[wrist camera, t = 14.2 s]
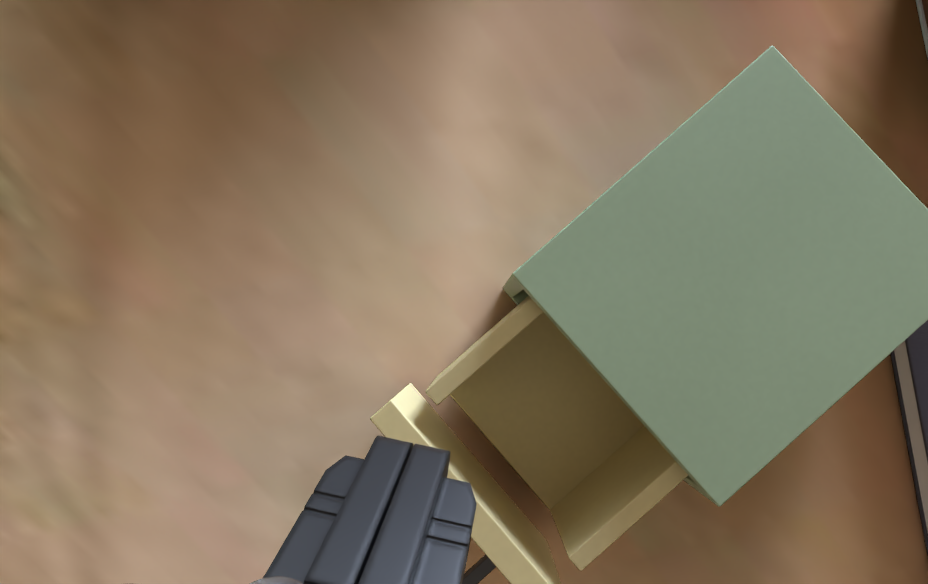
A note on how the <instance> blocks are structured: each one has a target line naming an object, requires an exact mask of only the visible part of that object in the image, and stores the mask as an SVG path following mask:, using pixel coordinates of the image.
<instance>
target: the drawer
mask: <svg viewBox="0 0 928 584" xmlns="http://www.w3.org/2000/svg"><path fill="white" fill-rule="evenodd" d="M425 392H426V393H427V395H428V396H429V397H430V398H431V399H432V400H433V402H434V403H435V404H436V405H438V404H440V403H441V402H442V401H443V400H444V399H445V398H446V397H448V396H449V395H450V396H451V397H452V398H453V399H454V400H455V402H456V403H457V404H458V405H459V406H460V407H461V408H462V410H463V411H464V412H465V413H466V414H467V415H468V416H469V418H470V419H471V420H472V421H473V422H474V423H475V425H476V426H477V427H478V428H479V429H480V430H481V431H482V433H483V434H484V435H485V436H486V437H487V438H488V440H489V441H490V442H491V443H492V444H493V445H494V446H495V448H496V449H497V450H498V451H499V452H500V453H501V455H502V456H503V457H504V458H505V459H506V460H507V461H508V463H509V464H510V465H511V466H512V467H513V468H514V470H515V471H516V472H517V473H518V474H519V475H520V476H521V478H522V479H523V480H524V481H525V482H526V483H527V485H528V486H529V487H530V488H531V489H532V490H533V491H534V493H535V494H536V495H537V496H538V497H539V498H540V499H541V501H542V502H543V503H544V504H545V505H546V506H547V508H548V509H549V510H550V512H551V514H552V517H553V519H554V522H555V524H556V527H557V529H558V532H559V534H560V537H561V539H562V542H563V544H564V547H565V549H566V552H567V555H568V557H569V559H570V560H571V561H572V562H573V563H574V565H575V566H576V567H577V568H578V569H579V570H580V571H582V570H583V569H584V568H585V567H586V566H588V565H589V564H590V563H591V562H592V561H593V560H594V559H595V558H597V557H598V556H599V555H600V554H601V553H602V552H603V551H604V550H605V549H607V548H608V547H609V546H610V545H611V544H612V543H613V542H614V541H615V540H617V539H618V538H619V537H620V536H621V535H622V534H623V533H624V532H626V531H627V530H628V529H629V528H630V527H631V526H632V525H633V524H634V523H636V522H637V521H638V520H639V519H640V518H641V517H642V516H643V515H644V514H646V513H647V512H648V511H649V510H650V509H651V508H652V507H653V506H655V505H656V504H657V503H658V502H659V501H660V500H661V499H662V498H663V497H665V496H666V495H667V494H668V493H669V492H670V491H671V490H672V489H674V488H675V487H676V486H677V485H678V484H679V483H680V482H681V481H682V480H684V479H685V478H686V477H687V476H688V474H687V473H686V472H685V471H684V470H683V469H682V467H681V466H680V465H679V464H678V463H677V462H676V461H675V460H674V458H673V457H672V456H671V455H670V454H669V453H668V452H667V451H666V449H665V448H664V447H663V446H662V445H661V444H660V443H659V442H658V440H657V439H656V438H655V437H654V436H653V435H652V434H651V433H650V431H649V430H648V429H647V428H646V427H645V426H644V425H643V424H642V422H641V421H640V420H639V419H638V418H637V417H636V416H635V415H634V413H633V412H632V411H631V410H630V409H629V408H628V407H627V406H626V404H625V403H624V402H623V401H622V400H621V399H620V398H619V397H618V395H617V394H616V393H615V392H614V391H613V390H612V389H611V387H610V386H609V385H608V384H607V383H606V382H605V381H604V380H603V378H602V377H601V376H600V375H599V374H598V373H597V372H596V371H595V369H594V368H593V367H592V366H591V365H590V364H589V363H588V362H587V360H586V359H585V358H584V357H583V356H582V355H581V354H580V353H579V351H578V350H577V349H576V348H575V347H574V346H573V345H572V344H571V342H570V341H569V340H568V339H567V338H566V337H565V336H564V335H563V333H562V332H561V331H560V330H559V329H558V328H557V327H556V326H555V324H554V323H553V322H552V321H551V320H550V319H549V318H548V317H547V315H546V314H545V313H544V312H543V311H542V310H541V309H540V308H539V306H538V305H537V304H536V303H535V302H534V301H533V300H532V299H531V297H530V296H528V297H526V298H525V299H524V300H523V301H522V302H521V303H520V304H519V305H517V306H516V307H515V308H514V309H513V310H512V311H511V312H509V313H508V314H507V315H506V316H505V317H504V318H503V319H502V320H500V321H499V322H498V323H497V324H496V325H495V326H494V327H492V328H491V329H490V330H489V331H488V332H487V333H486V334H484V335H483V336H482V337H481V338H480V339H479V340H478V341H477V342H475V343H474V344H473V345H472V346H471V347H470V348H469V349H467V350H466V351H465V352H464V353H463V354H462V355H461V356H460V357H458V358H457V359H456V360H455V361H454V362H453V363H452V364H450V365H449V366H448V367H447V368H446V369H445V370H444V371H442V372H441V373H440V374H439V375H438V376H437V377H436V378H435V380H434V381H433V382H432V383H431V385H430V386H429V387H428V389H427V390H426V391H425ZM370 420H371V421H372V422H373V423H374V424H375V425H376V427H377V428H378V429H379V430H380V431H381V432H382V434H383V435H384V436H385V437H387V438H392V439H396V440H401V441H406V442H410V443H413V446H414V444H420V445H425V446H429V447H434V448H439V449H443V450H448V451H450V462H449V468H448V475H447V478H450V479H455V480H459V481H464V482H468V483H470V484H471V487H472V490H473V494H474V497H475V500H476V503H477V505H476V511H475V517H474V522H473V528H472V534H471V538H472V539H473V540H474V541H475V542H476V544H477V545H478V546H479V547H480V548H481V549H482V551H483V552H484V553H485V554H486V555H485V556H483V557H482V558H481V559H480V560H479V561H478V562H477V563H476V564H474V565H473V566H472V567H471V568H470V569H469V570H468V571H467V572H466V573H464V576H463V581H462V584H478V583H479V582H480V581H481V580H482V579H483V578H484V577H485V576H487V575H488V574H489V573H490V572H491V571H492V570H493V569H494V568H495V567H497V568H498V569H499V570H500V572H501V573H502V574H503V575H504V576H505V577H506V579H507V580H508V581H509V582H510V583H511V584H561V582H560V579H559V576H558V573H557V570H556V567H555V564H554V560H553V557H552V554H551V551H550V548H549V545H548V542H547V540H546V539H545V538H544V536H543V535H542V534H541V533H540V532H539V531H538V530H537V528H536V527H535V526H534V525H533V524H532V523H531V521H530V520H529V519H528V518H527V517H526V516H525V515H524V513H523V512H522V511H521V510H520V509H519V508H518V506H517V505H516V504H515V503H514V502H513V501H512V499H511V498H510V497H509V496H508V495H507V494H506V493H505V491H504V490H503V489H502V488H501V487H500V486H499V484H498V483H497V482H496V481H495V480H494V479H493V477H492V476H491V475H490V474H489V473H488V472H487V471H486V469H485V468H484V467H483V466H482V465H481V464H480V462H479V461H478V460H477V459H476V458H475V457H474V455H473V454H472V453H471V452H470V451H469V450H468V449H467V447H466V446H465V445H464V444H463V443H462V442H461V440H460V439H459V438H458V437H457V436H456V435H455V433H454V432H453V431H452V430H451V429H450V428H449V427H448V425H447V424H446V423H445V422H444V421H443V420H442V418H441V417H440V416H439V415H438V414H437V413H436V411H435V410H434V409H433V408H432V407H431V406H430V405H429V403H428V402H427V401H426V400H425V399H424V398H423V396H422V395H421V394H420V393H419V392H418V391H417V390H416V388H415V387H414V386H413V385H412V384H411V383H410V384H408V385H407V386H406V387H405V388H404V389H403V390H402V391H400V392H399V393H398V394H397V395H396V396H395V397H394V398H392V399H391V400H390V401H389V402H388V403H387V404H386V405H384V406H383V407H382V408H381V409H380V410H379V411H378V412H376V413H375V414H374V415H373V416H372V417H371V418H370Z"/></svg>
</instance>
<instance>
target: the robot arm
mask: <svg viewBox="0 0 928 584" xmlns="http://www.w3.org/2000/svg"><path fill="white" fill-rule="evenodd" d="M449 462H450V451H448V450H443V449H439V448H434V447H429V446H425V445H420V444H414V446H413V443H410V442H406V441H401V440H396V439H392V438H387V437H383V436H377V437H376V438H375V440H374V442H373V444H372V446H371V448H370V450H369V452H368V454H367V456H366V458H365V460H364V459H359V458H355V457H350V456H344V457H343V458H342V459H340V460H339V461H338V462H336V463H335V464H334V465H332V466H331V467H330V468H328V469H327V470H326V471H325V473H324V474H323V476H322V478H321V479H320V481H319V483H318V485H317V486H316V488H315V490H314V493H313V494H312V495H311V497H310V498H309V500H308V502H307V504H306V505H305V508H304V511H302V512H301V514H300V516H299V517H298V519H297V521H296V523H295V524H294V526H293V528H292V529H291V531H290V533H289V535H288V536H287V538H286V540H285V541H284V543H283V545H282V547H281V548H280V550H279V552H278V554H277V555H276V557H275V559H274V560H273V562H272V564H271V566H270V567H269V569H268V571H267V572H266V574H265V575H264V577H263V578H262V579H260V580H257V581H254V582H252V583H250V584H462V581H463V576H464V571H465V566H466V562H467V556H468V550H469V545H470V539H471V534H472V528H473V522H474V517H475V511H476V505H477V503H476V500H475V497H474V494H473V490H472V487H471V484H470V483H468V482H464V481H459V480H455V479H450V478H447V475H448V468H449Z"/></svg>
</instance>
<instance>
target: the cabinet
mask: <svg viewBox="0 0 928 584" xmlns="http://www.w3.org/2000/svg"><path fill="white" fill-rule="evenodd" d="M503 290H504V291H505V292H506V293H507V294H508V295H509V296H510V298H511V299H512V300H513V301H514V302H515V303H516V304H517V305H519V304H520V303H521V302H522V301H523V300H524V299H525V298H526V297H528V296H530V297H531V299H532V300H533V301H534V302H535V303H536V304H537V305H538V306H539V308H540V309H541V310H542V311H543V312H544V313H545V314H546V315H547V317H548V318H549V319H550V320H551V321H552V322H553V323H554V324H555V326H556V327H557V328H558V329H559V330H560V331H561V332H562V333H563V335H564V336H565V337H566V338H567V339H568V340H569V341H570V342H571V344H572V345H573V346H574V347H575V348H576V349H577V350H578V351H579V353H580V354H581V355H582V356H583V357H584V358H585V359H586V360H587V362H588V363H589V364H590V365H591V366H592V367H593V368H594V369H595V371H596V372H597V373H598V374H599V375H600V376H601V377H602V378H603V380H604V381H605V382H606V383H607V384H608V385H609V386H610V387H611V389H612V390H613V391H614V392H615V393H616V394H617V395H618V397H619V398H620V399H621V400H622V401H623V402H624V403H625V404H626V406H627V407H628V408H629V409H630V410H631V411H632V412H633V413H634V415H635V416H636V417H637V418H638V419H639V420H640V421H641V422H642V424H643V425H644V426H645V427H646V428H647V429H648V430H649V431H650V433H651V434H652V435H653V436H654V437H655V438H656V439H657V440H658V442H659V443H660V444H661V445H662V446H663V447H664V448H665V449H666V451H667V452H668V453H669V454H670V455H671V456H672V457H673V458H674V460H675V461H676V462H677V463H678V464H679V465H680V466H681V467H682V469H683V470H684V471H685V472H686V473H687V474H688V476H687V477H686V478H685V479H684V481H685V482H687V483H688V484H689V485H691V486H692V487H693V488H695V489H696V490H697V491H699V492H700V493H701V494H703V495H704V496H705V497H707V498H708V499H709V500H711V501H712V502H713V503H714V504H716V505H717V506H719V507H720V506H721V505H722V504H723V503H725V502H726V501H727V500H728V499H729V498H730V497H731V496H732V495H733V494H735V493H736V492H737V491H738V490H739V489H740V488H741V487H742V486H743V485H745V484H746V483H747V482H748V481H749V480H750V479H751V478H752V477H754V476H755V475H756V474H757V473H758V472H759V471H760V470H761V469H762V468H764V467H765V466H766V465H767V464H768V463H769V462H770V461H771V460H772V459H774V458H775V457H776V456H777V455H778V454H779V453H780V452H781V451H782V450H784V449H785V448H786V447H787V446H788V445H789V444H790V443H791V442H792V441H794V440H795V439H796V438H797V437H798V436H799V435H800V434H801V433H802V432H804V431H805V430H806V429H807V428H808V427H809V426H810V425H811V424H812V423H814V422H815V421H816V420H817V419H818V418H819V417H820V416H821V415H822V414H824V413H825V412H826V411H827V410H828V409H829V408H830V407H831V406H832V405H834V404H835V403H836V402H837V401H838V400H839V399H840V398H841V397H843V396H844V395H845V394H846V393H847V392H848V391H849V390H850V389H851V388H853V387H854V386H855V385H856V384H857V383H858V382H859V381H860V380H861V379H863V378H864V377H865V376H866V375H867V374H868V373H869V372H870V371H871V370H873V369H874V368H875V367H876V366H877V365H878V364H879V363H880V362H881V361H883V360H884V359H885V358H886V357H887V356H888V355H889V354H890V353H891V352H893V351H894V350H895V349H896V348H897V347H898V346H899V345H900V344H901V343H903V342H904V341H905V340H906V339H907V338H908V337H909V336H910V335H911V334H913V333H914V332H915V331H916V330H917V329H918V328H919V327H920V326H921V325H923V324H924V323H925V322H926V321H927V320H928V209H927V208H926V207H925V206H924V205H923V204H922V203H921V202H920V201H919V199H918V198H917V197H916V196H915V195H914V194H913V193H912V192H911V191H910V190H909V189H908V188H907V187H906V186H905V185H904V184H903V183H902V181H901V180H900V179H899V178H898V177H897V176H896V175H895V174H894V173H893V172H892V171H891V170H890V169H889V168H888V167H887V166H886V165H885V164H884V162H883V161H882V160H881V159H880V158H879V157H878V156H877V155H876V154H875V153H874V152H873V151H872V150H871V149H870V148H869V147H868V146H867V145H866V143H865V142H864V141H863V140H862V139H861V138H860V137H859V136H858V135H857V134H856V133H855V132H854V131H853V130H852V129H851V128H850V127H849V126H848V124H847V123H846V122H845V121H844V120H843V119H842V118H841V117H840V116H839V115H838V114H837V113H836V112H835V111H834V110H833V109H832V108H831V106H830V105H829V104H828V103H827V102H826V101H825V100H824V99H823V98H822V97H821V96H820V95H819V94H818V93H817V92H816V91H815V90H814V89H813V87H812V86H811V85H810V84H809V83H808V82H807V81H806V80H805V79H804V78H803V77H802V76H801V75H800V74H799V73H798V72H797V71H796V70H795V68H794V67H793V66H792V65H791V64H790V63H789V62H788V61H787V60H786V59H785V58H784V57H783V56H782V55H781V54H780V53H779V52H778V50H777V49H776V48H775V47H774V46H771V47H770V48H768V49H767V50H766V51H765V52H764V53H763V54H762V55H760V56H759V57H758V58H757V59H756V60H755V61H754V62H752V63H751V64H750V65H749V66H748V67H747V68H746V69H744V70H743V71H742V72H741V73H740V74H739V75H738V76H737V77H735V78H734V79H733V80H732V81H731V82H730V83H729V84H727V85H726V86H725V87H724V88H723V89H722V90H721V91H719V92H718V93H717V94H716V95H715V96H714V97H713V98H712V99H710V100H709V101H708V102H707V103H706V104H705V105H704V106H702V107H701V108H700V109H699V110H698V111H697V112H696V113H694V114H693V115H692V116H691V117H690V118H689V119H688V120H686V121H685V122H684V123H683V124H682V125H681V126H680V127H679V128H677V129H676V130H675V131H674V132H673V133H672V134H671V135H669V136H668V137H667V138H666V139H665V140H664V141H663V142H661V143H660V144H659V145H658V146H657V147H656V148H655V149H654V150H652V151H651V152H650V153H649V154H648V155H647V156H646V157H644V158H643V159H642V160H641V161H640V162H639V163H638V164H636V165H635V166H634V167H633V168H632V169H631V170H630V171H628V172H627V173H626V174H625V175H624V176H623V177H622V178H621V179H619V180H618V181H617V182H616V183H615V184H614V185H613V186H611V187H610V188H609V189H608V190H607V191H606V192H605V193H603V194H602V195H601V196H600V197H599V198H598V199H597V200H596V201H594V202H593V203H592V204H591V205H590V206H589V207H588V208H586V209H585V210H584V211H583V212H582V213H581V214H580V215H578V216H577V217H576V218H575V219H574V220H573V221H572V222H570V223H569V224H568V225H567V226H566V227H565V228H564V229H563V230H561V231H560V232H559V233H558V234H557V235H556V236H555V237H553V238H552V239H551V240H550V241H549V242H548V243H547V244H545V245H544V246H543V247H542V248H541V249H540V250H539V251H537V252H536V253H535V254H534V255H533V256H532V257H531V258H530V259H528V260H527V261H526V262H525V263H524V264H523V265H522V266H520V267H519V268H518V269H517V270H516V271H515V272H514V273H513V274H512V275H511V277H510V278H509V279H508V281H507V282H506V284H505V285H504V286H503Z"/></svg>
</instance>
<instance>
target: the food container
mask: <svg viewBox="0 0 928 584" xmlns="http://www.w3.org/2000/svg"><path fill="white" fill-rule="evenodd" d="M916 4H917V9H918V14H919V19H920V24H921V29H922V33H923V38H924V43H925V48H926V53H927V58H928V0H916Z"/></svg>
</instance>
